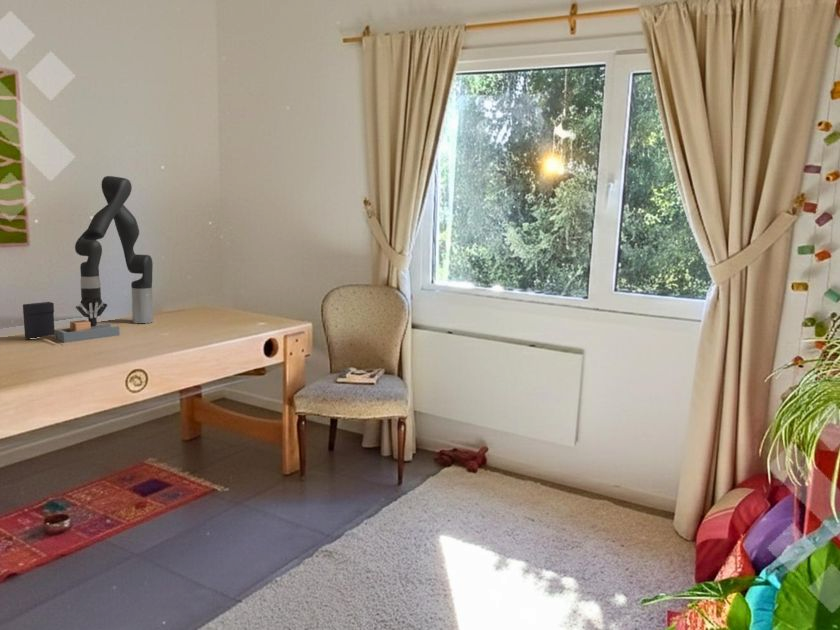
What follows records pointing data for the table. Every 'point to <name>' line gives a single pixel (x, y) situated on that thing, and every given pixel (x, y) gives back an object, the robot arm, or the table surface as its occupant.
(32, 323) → the dark grey upright box
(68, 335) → the chute
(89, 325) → the block
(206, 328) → the table surface
